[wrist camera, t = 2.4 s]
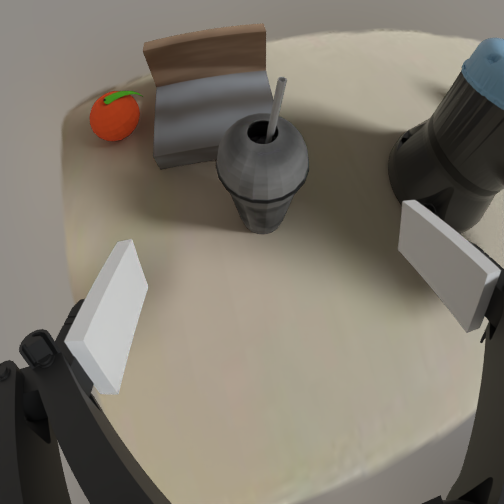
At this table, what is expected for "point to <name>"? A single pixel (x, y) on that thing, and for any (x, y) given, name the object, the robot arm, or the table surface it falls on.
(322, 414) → the table surface
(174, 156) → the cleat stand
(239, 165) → the beverage cup
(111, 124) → the clementine
